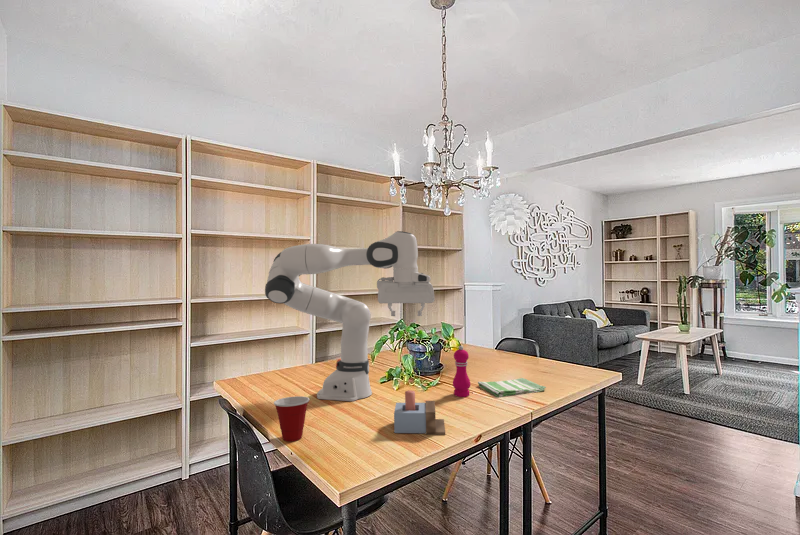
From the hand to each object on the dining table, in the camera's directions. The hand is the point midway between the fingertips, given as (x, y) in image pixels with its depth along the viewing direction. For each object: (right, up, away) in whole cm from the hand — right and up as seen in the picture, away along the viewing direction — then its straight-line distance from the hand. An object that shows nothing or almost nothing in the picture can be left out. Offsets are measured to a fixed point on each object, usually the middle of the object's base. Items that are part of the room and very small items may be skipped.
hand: (406, 315), depth 148 cm
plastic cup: (-36, -36, -19) cm, 54 cm away
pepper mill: (+23, -35, +22) cm, 47 cm away
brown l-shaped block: (+9, -35, -12) cm, 38 cm away
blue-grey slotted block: (+1, -35, -12) cm, 37 cm away
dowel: (+1, -33, -12) cm, 36 cm away
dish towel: (+45, -35, +30) cm, 64 cm away
